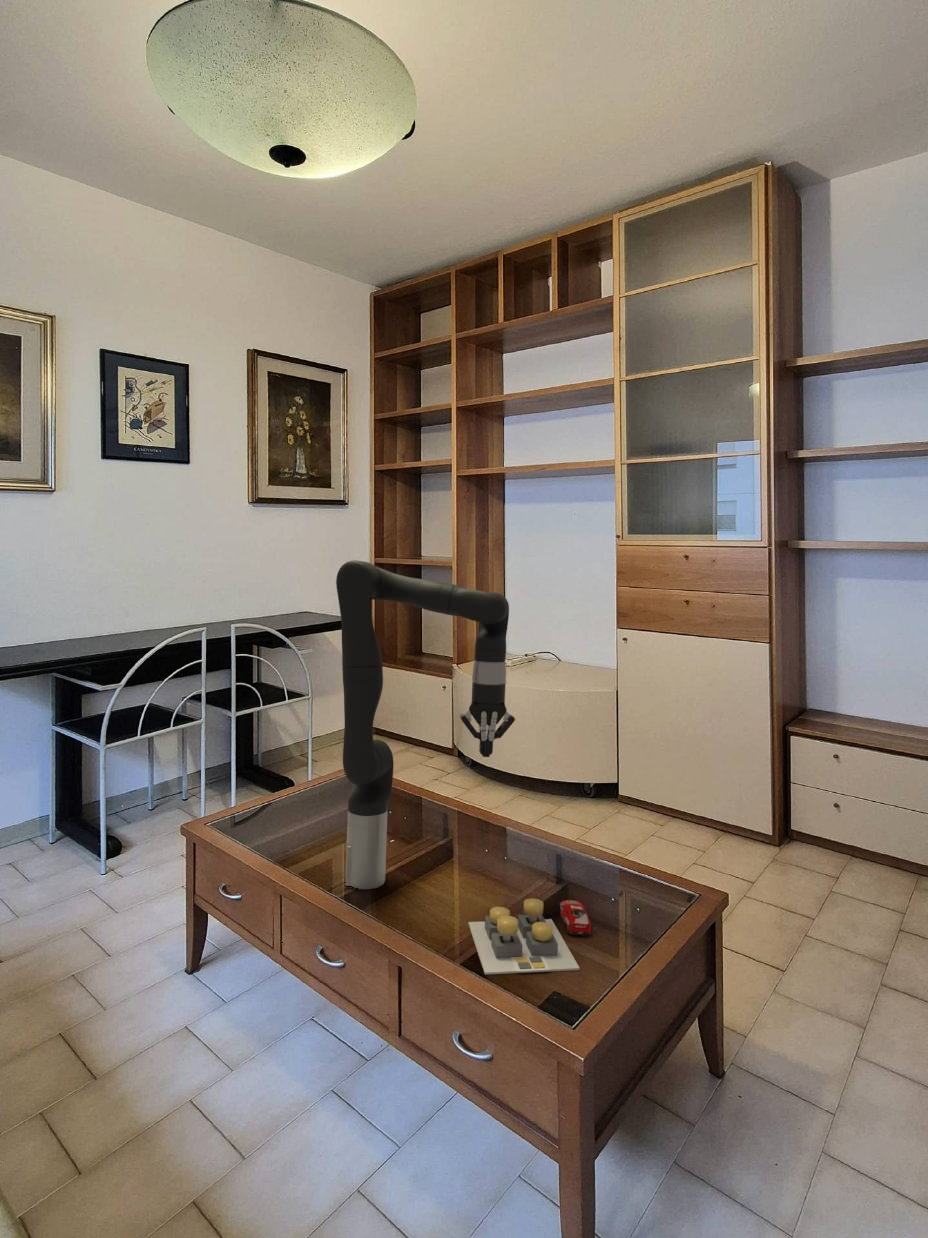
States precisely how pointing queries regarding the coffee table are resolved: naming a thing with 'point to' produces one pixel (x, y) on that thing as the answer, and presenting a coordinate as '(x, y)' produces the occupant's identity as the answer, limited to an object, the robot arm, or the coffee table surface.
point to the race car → (575, 917)
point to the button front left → (507, 927)
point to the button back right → (533, 909)
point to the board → (520, 949)
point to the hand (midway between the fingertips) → (485, 756)
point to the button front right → (542, 931)
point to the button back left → (498, 913)
